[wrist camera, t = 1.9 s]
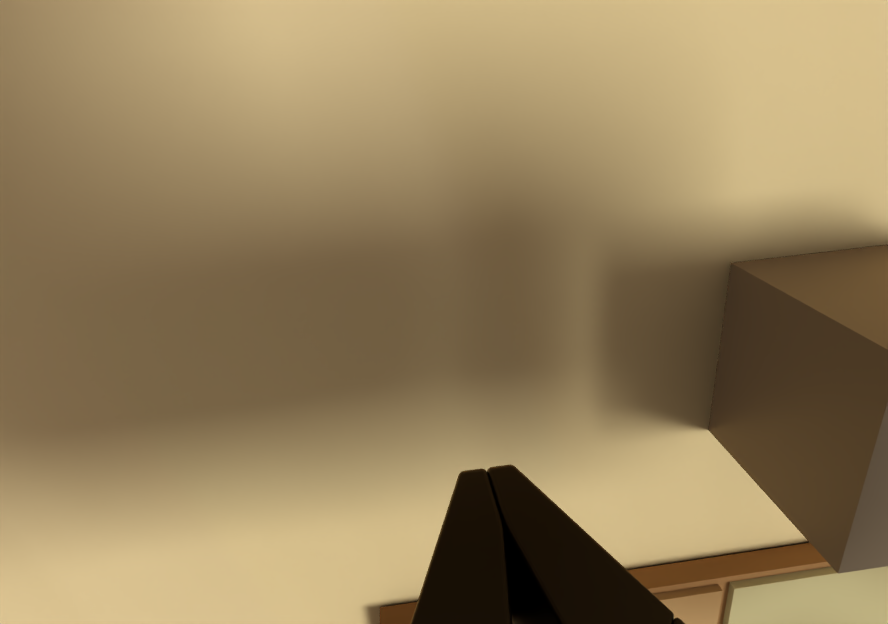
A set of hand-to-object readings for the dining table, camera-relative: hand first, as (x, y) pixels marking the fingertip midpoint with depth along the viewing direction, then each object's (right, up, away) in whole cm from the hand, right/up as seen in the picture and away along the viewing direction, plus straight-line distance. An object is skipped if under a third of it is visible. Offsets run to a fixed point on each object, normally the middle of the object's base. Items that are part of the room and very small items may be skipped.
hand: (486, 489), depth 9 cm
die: (+7, +2, +3) cm, 8 cm away
